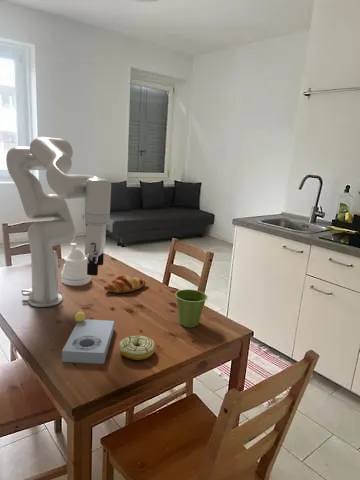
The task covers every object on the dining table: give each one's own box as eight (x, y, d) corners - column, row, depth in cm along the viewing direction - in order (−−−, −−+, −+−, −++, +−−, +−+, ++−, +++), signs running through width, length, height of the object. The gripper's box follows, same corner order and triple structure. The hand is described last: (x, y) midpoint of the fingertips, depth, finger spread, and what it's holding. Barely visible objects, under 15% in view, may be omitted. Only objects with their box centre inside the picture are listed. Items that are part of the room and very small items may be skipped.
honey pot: (55, 282, 160) (54, 244, 156) (77, 275, 170) (78, 239, 166) (73, 290, 153) (74, 250, 149) (96, 282, 164) (97, 245, 159)
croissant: (143, 291, 166) (139, 274, 167) (154, 286, 158) (150, 269, 160) (101, 298, 152) (98, 280, 154) (111, 293, 145) (107, 275, 146)
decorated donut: (123, 341, 114) (124, 330, 113) (155, 345, 114) (157, 335, 113) (115, 359, 104) (116, 347, 103) (151, 364, 104) (152, 352, 103)
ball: (72, 312, 118) (78, 315, 121) (73, 322, 117) (79, 324, 120) (80, 308, 118) (86, 311, 121) (82, 318, 116) (87, 320, 119)
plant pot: (210, 328, 129) (213, 299, 126) (181, 333, 124) (184, 303, 121) (195, 314, 139) (197, 287, 136) (167, 318, 134) (169, 290, 131)
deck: (78, 328, 122) (78, 319, 121) (113, 330, 122) (114, 320, 121) (62, 361, 102) (61, 351, 101) (103, 363, 103) (104, 353, 102)
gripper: (91, 212, 119) (89, 260, 123) (78, 223, 102) (77, 278, 106) (113, 214, 119) (111, 262, 123) (104, 225, 102) (102, 280, 107)
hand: (95, 269), depth 115 cm, fingers open, 9 cm apart
